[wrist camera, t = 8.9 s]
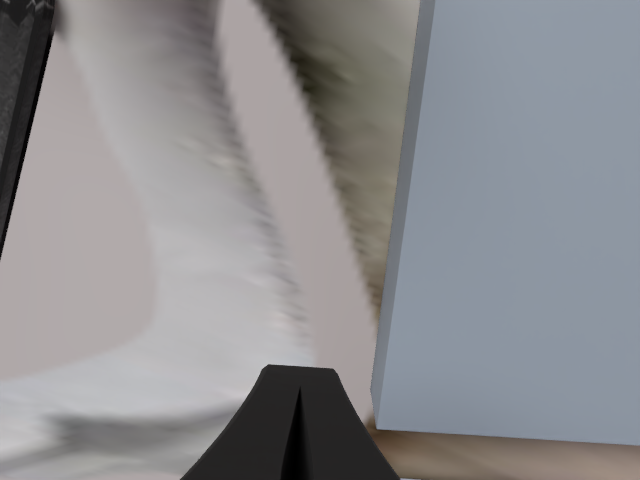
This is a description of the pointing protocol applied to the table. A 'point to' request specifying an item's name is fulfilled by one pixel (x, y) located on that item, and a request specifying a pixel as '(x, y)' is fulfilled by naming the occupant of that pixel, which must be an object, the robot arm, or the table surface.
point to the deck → (517, 226)
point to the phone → (19, 88)
